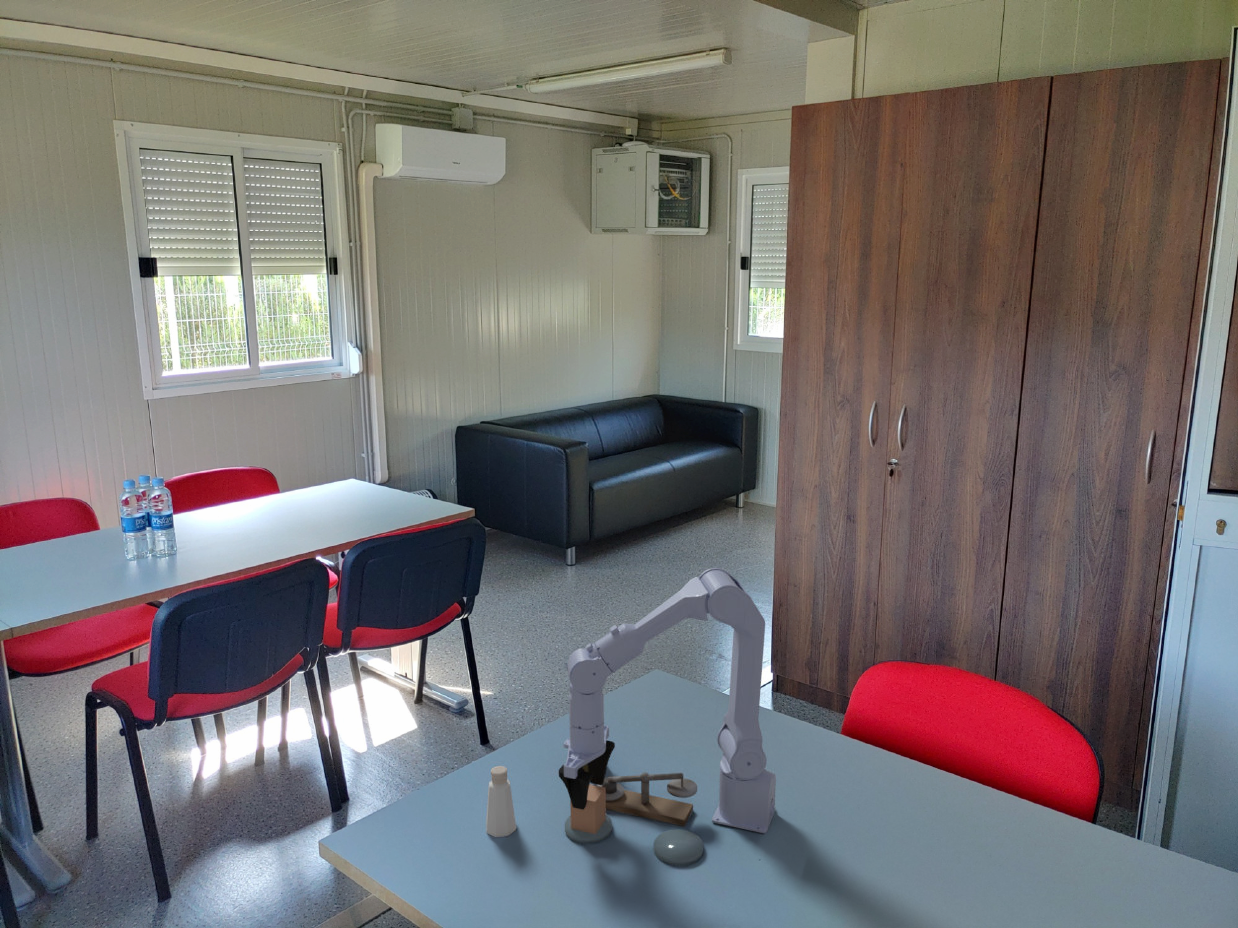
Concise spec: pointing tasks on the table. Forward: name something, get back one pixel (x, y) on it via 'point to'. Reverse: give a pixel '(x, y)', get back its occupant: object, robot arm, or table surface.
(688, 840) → the smooth grey pebble
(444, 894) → the table surface
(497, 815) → the salt shaker
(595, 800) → the block
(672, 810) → the balance
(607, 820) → the grey dome
